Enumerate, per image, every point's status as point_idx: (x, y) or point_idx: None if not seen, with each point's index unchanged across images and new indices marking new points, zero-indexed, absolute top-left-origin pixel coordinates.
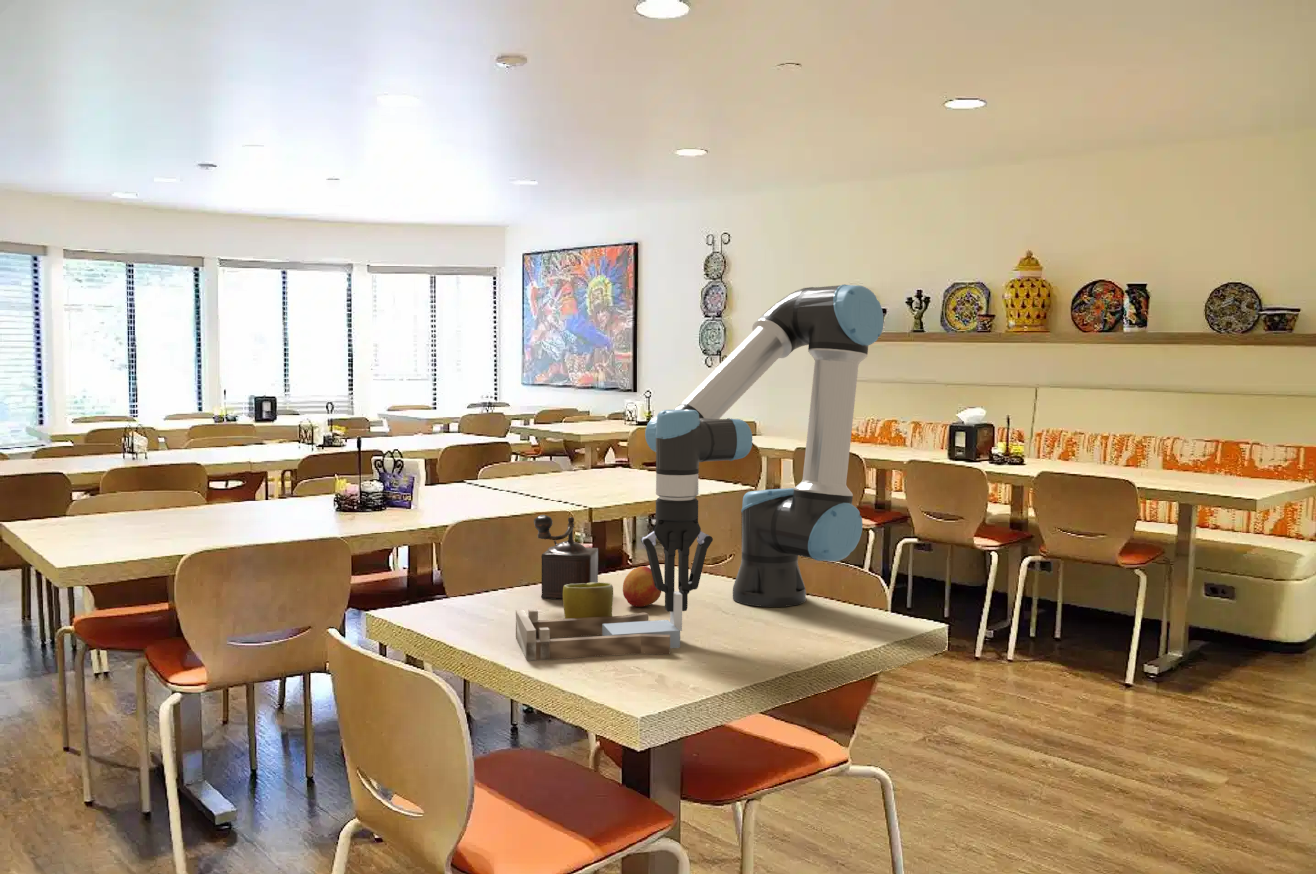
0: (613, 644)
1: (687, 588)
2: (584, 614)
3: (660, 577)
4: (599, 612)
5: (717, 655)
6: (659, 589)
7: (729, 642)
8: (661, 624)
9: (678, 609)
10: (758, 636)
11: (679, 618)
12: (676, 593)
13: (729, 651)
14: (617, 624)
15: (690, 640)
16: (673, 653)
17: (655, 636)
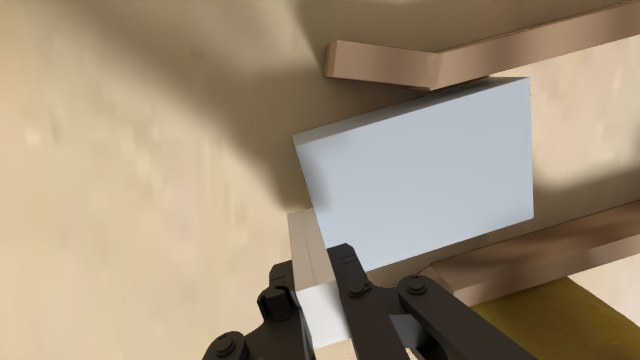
0: (517, 32)
1: (268, 326)
2: (571, 290)
3: (453, 329)
4: (534, 304)
5: (161, 38)
6: (422, 277)
7: (135, 202)
8: (357, 222)
9: (306, 248)
10: (45, 276)
11: (299, 230)
12: (324, 307)
13: (122, 92)
14: (492, 213)
15: (260, 215)
16: (312, 64)
17: (389, 48)
